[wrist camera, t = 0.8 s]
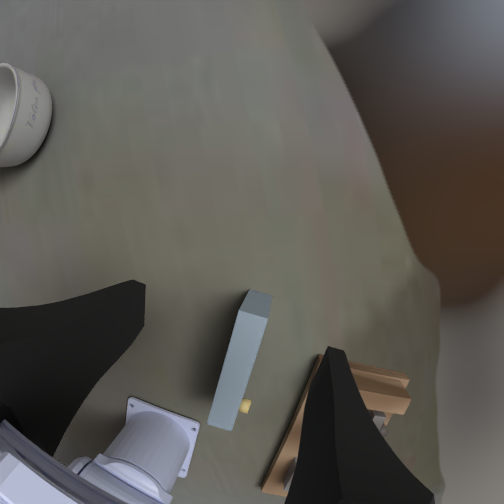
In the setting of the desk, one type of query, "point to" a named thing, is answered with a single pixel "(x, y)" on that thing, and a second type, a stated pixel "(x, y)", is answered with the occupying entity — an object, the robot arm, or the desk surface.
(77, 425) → the desk surface
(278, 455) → the knife switch board
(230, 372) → the rectangular block
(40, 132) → the teacup
